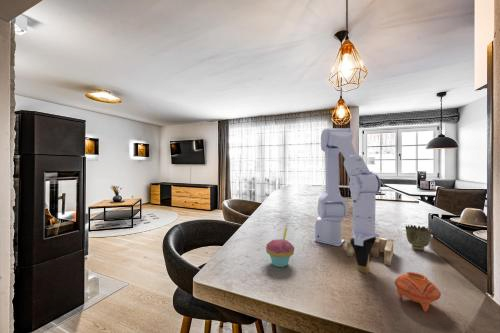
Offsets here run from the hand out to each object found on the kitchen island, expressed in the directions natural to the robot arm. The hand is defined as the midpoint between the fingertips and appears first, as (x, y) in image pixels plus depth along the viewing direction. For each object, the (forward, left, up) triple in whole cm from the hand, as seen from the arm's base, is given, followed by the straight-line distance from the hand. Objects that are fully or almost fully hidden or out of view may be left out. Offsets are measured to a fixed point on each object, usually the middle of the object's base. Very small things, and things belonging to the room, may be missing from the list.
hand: (363, 263), depth 62 cm
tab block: (0, +8, -2) cm, 8 cm away
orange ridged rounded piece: (+12, -9, -2) cm, 15 cm away
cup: (+13, +29, -2) cm, 32 cm away
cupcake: (-21, -11, -2) cm, 24 cm away
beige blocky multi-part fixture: (0, +14, -2) cm, 14 cm away
